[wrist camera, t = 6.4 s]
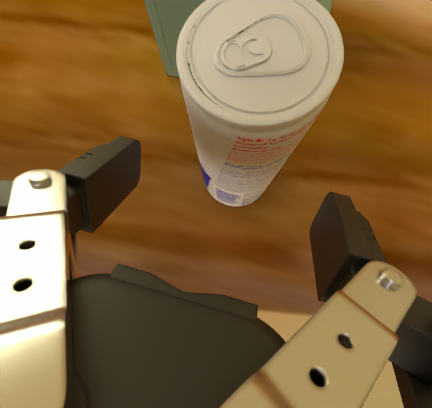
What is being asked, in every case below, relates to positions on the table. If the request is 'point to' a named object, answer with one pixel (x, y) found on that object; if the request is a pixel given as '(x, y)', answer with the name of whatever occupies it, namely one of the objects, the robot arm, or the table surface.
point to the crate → (177, 25)
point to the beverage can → (254, 86)
